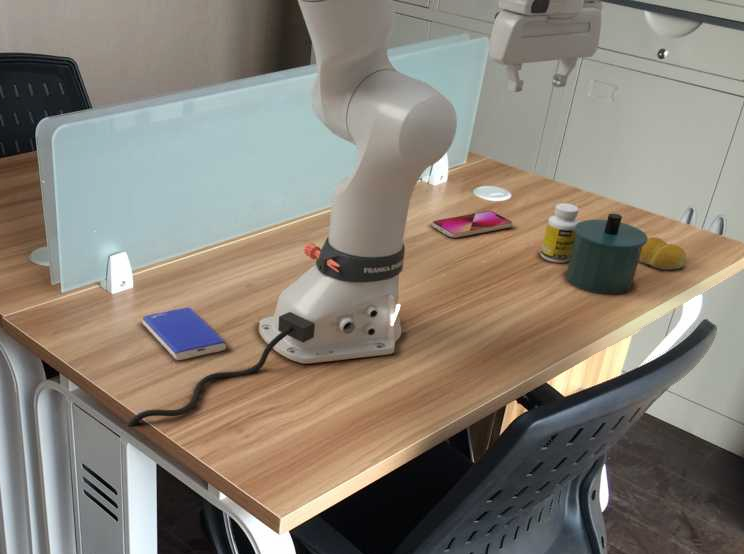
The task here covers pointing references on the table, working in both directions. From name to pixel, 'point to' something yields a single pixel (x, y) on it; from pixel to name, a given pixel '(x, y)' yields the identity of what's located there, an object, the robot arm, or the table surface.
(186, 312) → the hard drive
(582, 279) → the pot
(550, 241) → the supplement bottle
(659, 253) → the bread roll
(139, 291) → the table surface
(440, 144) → the robot arm
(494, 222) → the smartphone
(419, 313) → the table surface
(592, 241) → the pot lid
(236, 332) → the table surface
